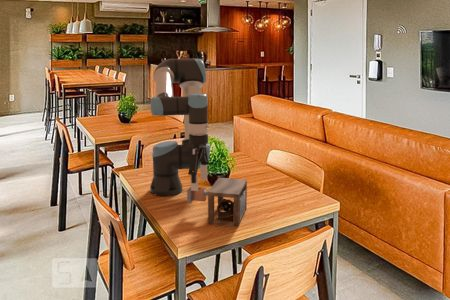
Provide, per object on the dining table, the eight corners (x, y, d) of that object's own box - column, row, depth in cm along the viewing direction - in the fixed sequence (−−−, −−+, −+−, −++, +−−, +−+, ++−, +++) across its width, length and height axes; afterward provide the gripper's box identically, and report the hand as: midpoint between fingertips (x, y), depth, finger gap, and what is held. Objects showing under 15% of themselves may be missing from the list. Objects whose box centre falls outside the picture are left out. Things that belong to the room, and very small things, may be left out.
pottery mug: (246, 219, 169) (239, 206, 164) (225, 231, 168) (218, 218, 163) (234, 202, 178) (228, 189, 174) (215, 214, 177) (208, 201, 172)
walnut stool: (208, 224, 164) (207, 192, 160) (218, 206, 181) (218, 177, 177) (238, 226, 161) (238, 194, 158) (246, 209, 178) (246, 179, 175)
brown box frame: (186, 216, 168) (185, 192, 166) (194, 205, 180) (194, 183, 177) (240, 221, 164) (240, 197, 161) (245, 209, 175) (245, 186, 173)
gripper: (198, 140, 152) (199, 195, 157) (215, 128, 176) (215, 176, 181) (179, 139, 154) (180, 194, 159) (198, 127, 178) (198, 175, 183)
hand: (199, 185), depth 170 cm, fingers open, 13 cm apart
